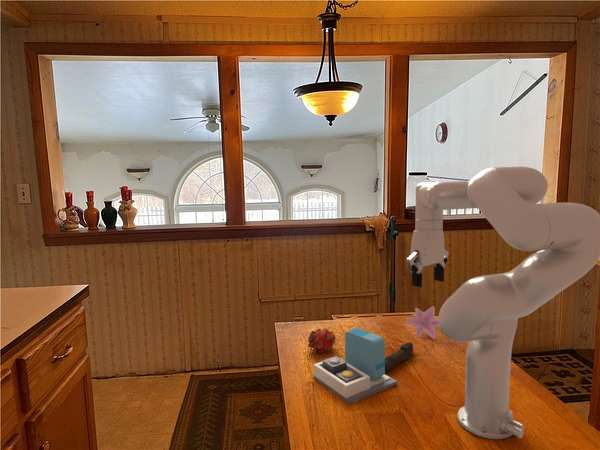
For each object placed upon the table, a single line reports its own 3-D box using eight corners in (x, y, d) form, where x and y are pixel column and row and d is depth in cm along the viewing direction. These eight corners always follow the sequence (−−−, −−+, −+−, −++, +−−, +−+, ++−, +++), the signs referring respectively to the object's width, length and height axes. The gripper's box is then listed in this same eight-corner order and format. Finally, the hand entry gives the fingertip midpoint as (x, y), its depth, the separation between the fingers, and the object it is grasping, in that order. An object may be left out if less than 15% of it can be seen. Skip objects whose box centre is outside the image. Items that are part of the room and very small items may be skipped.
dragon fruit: (306, 359, 137) (331, 354, 144) (321, 351, 131) (347, 346, 139) (298, 335, 141) (324, 331, 148) (312, 326, 135) (338, 322, 143)
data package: (385, 377, 118) (385, 337, 117) (375, 382, 116) (375, 342, 114) (354, 363, 128) (354, 326, 126) (344, 367, 125) (344, 330, 123)
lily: (401, 334, 155) (403, 317, 149) (416, 315, 162) (419, 298, 156) (430, 351, 148) (434, 334, 143) (444, 330, 155) (449, 314, 150)
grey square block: (346, 372, 119) (346, 361, 118) (333, 376, 116) (332, 366, 115) (336, 365, 123) (335, 355, 122) (322, 370, 120) (322, 359, 120)
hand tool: (385, 376, 122) (385, 362, 121) (374, 372, 125) (375, 357, 124) (419, 356, 134) (420, 343, 134) (409, 353, 137) (409, 339, 137)
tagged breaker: (360, 385, 114) (360, 374, 113) (346, 391, 111) (346, 379, 111) (348, 378, 118) (348, 367, 117) (335, 383, 115) (335, 372, 115)
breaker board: (397, 384, 117) (397, 369, 116) (349, 404, 107) (349, 388, 107) (357, 362, 131) (357, 348, 130) (313, 377, 122) (312, 363, 121)
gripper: (437, 221, 124) (436, 276, 126) (398, 226, 115) (397, 285, 117) (458, 223, 118) (457, 281, 120) (419, 229, 109) (418, 291, 111)
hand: (428, 283), depth 119 cm, fingers open, 9 cm apart
